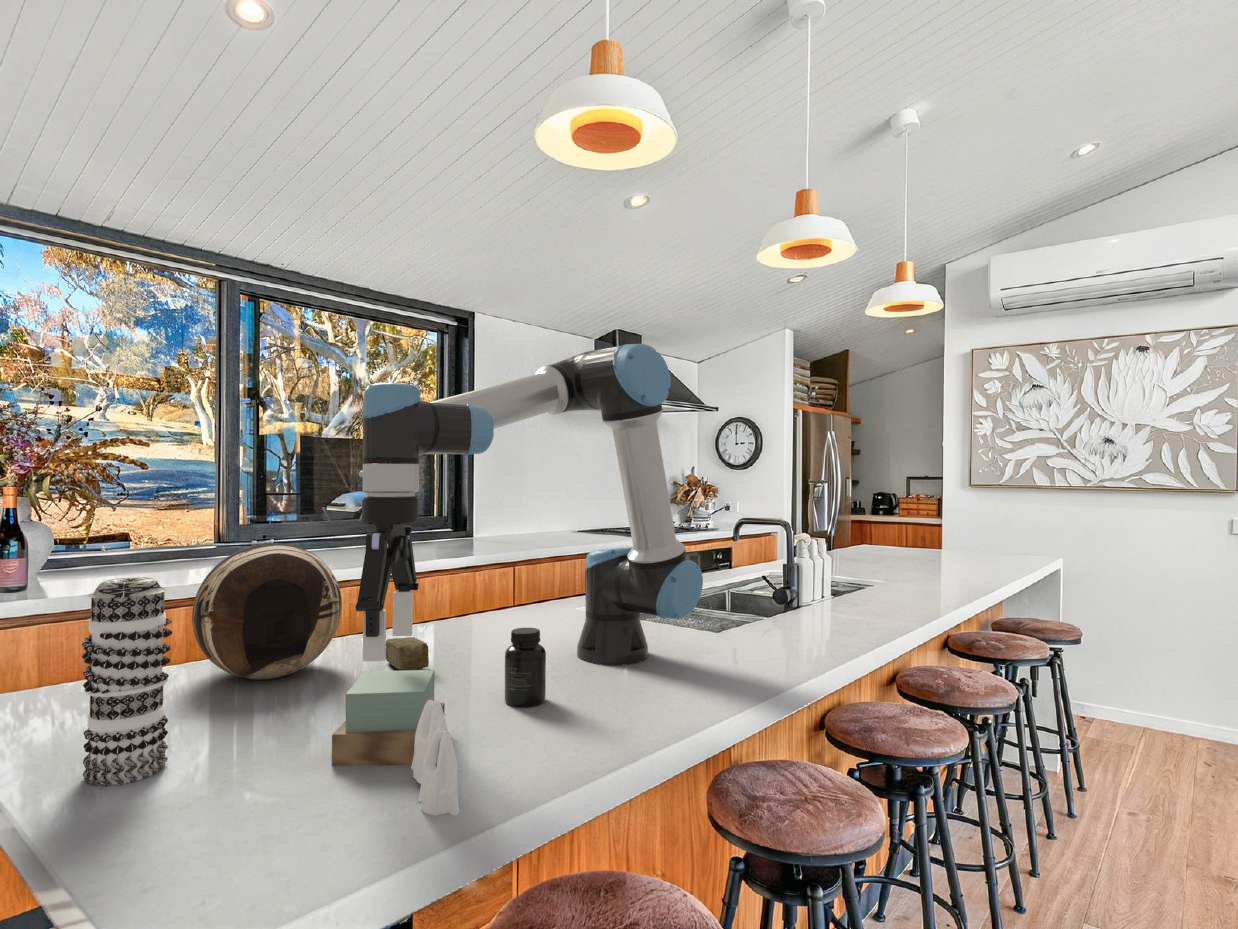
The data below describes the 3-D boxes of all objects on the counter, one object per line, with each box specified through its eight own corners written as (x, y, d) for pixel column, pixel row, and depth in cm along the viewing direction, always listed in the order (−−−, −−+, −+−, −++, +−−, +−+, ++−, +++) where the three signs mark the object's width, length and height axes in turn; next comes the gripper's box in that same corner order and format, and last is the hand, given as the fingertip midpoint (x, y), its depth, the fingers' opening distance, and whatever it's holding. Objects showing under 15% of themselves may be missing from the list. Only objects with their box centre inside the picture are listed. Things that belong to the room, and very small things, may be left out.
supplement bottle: (518, 693, 121) (518, 624, 121) (552, 698, 118) (553, 628, 118) (496, 705, 115) (497, 632, 115) (532, 711, 112) (533, 636, 112)
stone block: (400, 673, 129) (399, 646, 129) (383, 663, 138) (383, 638, 139) (431, 668, 132) (430, 642, 132) (412, 659, 142) (412, 634, 142)
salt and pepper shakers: (410, 781, 87) (411, 692, 87) (444, 775, 88) (444, 688, 88) (423, 826, 76) (424, 725, 76) (461, 819, 77) (462, 720, 77)
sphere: (191, 708, 113) (193, 554, 113) (190, 670, 134) (192, 540, 134) (353, 683, 126) (354, 546, 126) (329, 652, 147) (330, 534, 147)
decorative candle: (187, 768, 90) (190, 575, 90) (122, 801, 81) (124, 587, 81) (130, 761, 92) (133, 573, 92) (60, 792, 83) (63, 584, 83)
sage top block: (434, 703, 102) (434, 669, 102) (423, 729, 92) (424, 691, 92) (363, 706, 100) (363, 671, 100) (345, 732, 90) (345, 694, 91)
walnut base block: (444, 736, 102) (444, 702, 102) (425, 772, 90) (425, 733, 90) (361, 737, 102) (362, 703, 102) (331, 773, 90) (332, 734, 90)
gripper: (389, 491, 109) (387, 627, 109) (330, 498, 84) (328, 673, 84) (437, 492, 109) (436, 626, 109) (392, 498, 84) (391, 673, 84)
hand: (389, 647), depth 96 cm, fingers open, 13 cm apart
